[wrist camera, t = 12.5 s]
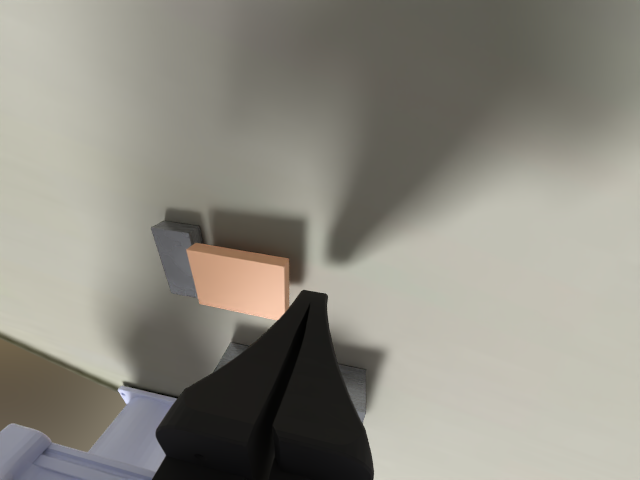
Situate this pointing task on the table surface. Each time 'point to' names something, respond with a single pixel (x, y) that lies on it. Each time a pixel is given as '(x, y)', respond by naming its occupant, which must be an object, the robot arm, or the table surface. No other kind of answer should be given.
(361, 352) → the table surface
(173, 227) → the base
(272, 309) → the tan flat block
